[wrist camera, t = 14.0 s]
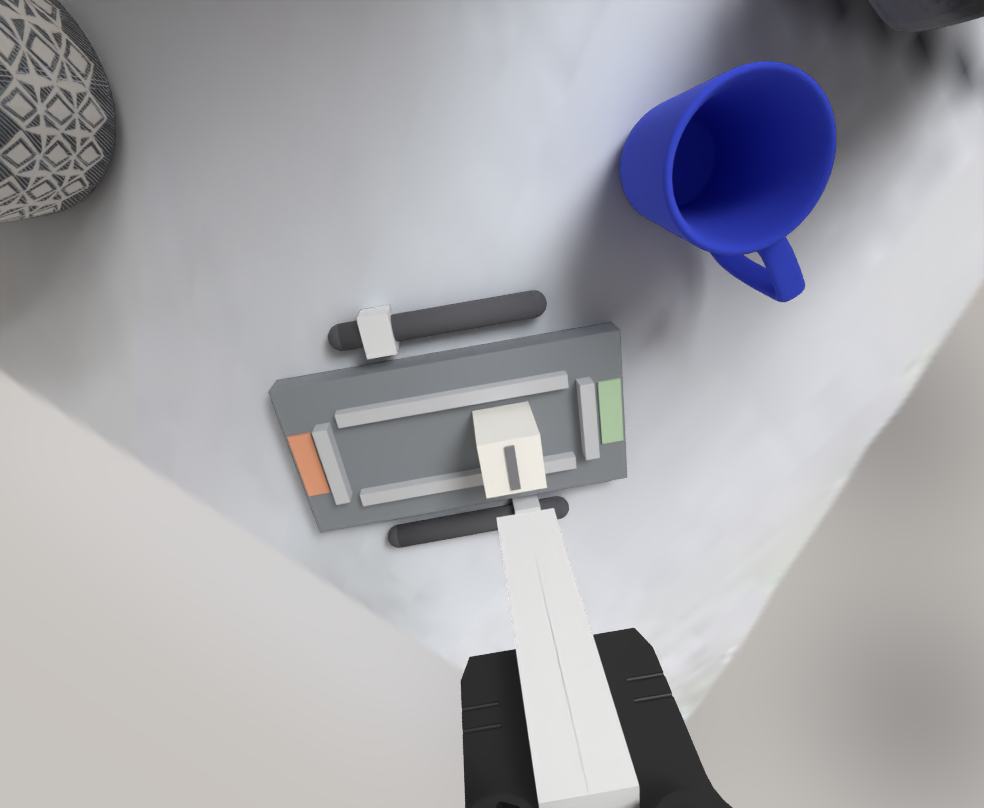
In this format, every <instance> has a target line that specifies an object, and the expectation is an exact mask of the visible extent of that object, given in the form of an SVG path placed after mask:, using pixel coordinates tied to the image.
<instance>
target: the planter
mask: <svg viewBox="0 0 984 808" xmlns="http://www.w3.org/2000/svg"><path fill="white" fill-rule="evenodd" d="M115 133H116V122H115V111H114V104H113V99H112V95H111V91H110V87H109V84H108V81H107V78H106V75H105V73H104V70H103V68H102V65H101V63H100V61H99V59H98V57H97V55H96V53H95V51H94V49H93V47H92V46H91V44H90V42H89V41H88V39H87V37H86V36H85V34H84V33H83V31H82V30H81V29H80V27H79V26H78V24H77V23H76V22H75V20H74V19H73V18H72V17H71V15H70V14H69V13H68V12H67V10H66V9H65V8H64V7H63V6H62V5H61V4H60V3H59V2H58V1H57V0H0V222H5V221H12V220H19V219H26V218H32V217H39V216H45V215H50V214H54V213H58V212H60V211H63V210H66V209H68V208H70V207H72V206H74V205H75V204H77V203H79V202H80V201H82V200H83V199H84V198H86V197H87V196H88V195H89V194H90V193H91V192H92V191H93V190H94V189H95V188H96V186H97V185H98V184H99V182H100V181H101V180H102V178H103V176H104V174H105V173H106V171H107V168H108V166H109V164H110V161H111V157H112V154H113V149H114V144H115Z"/></svg>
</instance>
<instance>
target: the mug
mask: <svg viewBox="0 0 984 808" xmlns="http://www.w3.org/2000/svg"><path fill="white" fill-rule="evenodd" d="M835 152H836V125H835V119H834V115H833V111H832V108H831V105H830V103H829V100H828V98H827V96H826V95H825V93H824V91H823V90H822V88H821V87H820V86H819V85H818V84H817V82H816V81H815V80H814V79H812V78H811V77H810V76H809V75H808V74H806V73H805V72H803V71H802V70H800V69H798V68H796V67H794V66H791V65H789V64H785V63H780V62H773V61H762V62H754V63H749V64H745V65H742V66H739V67H736V68H734V69H731V70H729V71H727V72H725V73H723V74H721V75H719V76H717V77H715V78H713V79H711V80H709V81H707V82H704V83H702V84H700V85H698V86H696V87H694V88H692V89H690V90H688V91H686V92H684V93H682V94H680V95H678V96H675V97H673V98H671V99H669V100H667V101H665V102H663V103H661V104H659V105H658V106H656V107H655V108H653V109H652V110H650V111H649V112H648V113H646V114H645V115H644V116H643V117H642V118H641V119H640V121H639V122H638V123H637V124H636V125H635V127H634V128H633V130H632V131H631V133H630V135H629V136H628V138H627V140H626V143H625V145H624V148H623V152H622V156H621V162H620V177H621V183H622V187H623V190H624V193H625V195H626V197H627V199H628V200H629V202H630V204H631V205H632V206H633V207H634V209H635V210H636V211H637V212H639V213H640V214H641V215H642V216H644V217H646V218H647V219H649V220H651V221H652V222H654V223H656V224H658V225H659V226H661V227H663V228H665V229H667V230H668V231H670V232H672V233H674V234H675V235H677V236H679V237H681V238H683V239H684V240H686V241H688V242H690V243H691V244H693V245H695V246H697V247H699V248H701V249H703V250H705V251H708V252H710V253H711V254H712V256H713V257H714V258H715V260H716V261H717V262H718V263H719V264H720V265H721V266H722V267H723V268H724V269H725V270H726V271H728V272H729V273H730V274H732V275H733V276H734V277H736V278H737V279H739V280H741V281H742V282H744V283H745V284H747V285H749V286H750V287H752V288H754V289H756V290H758V291H759V292H761V293H763V294H765V295H767V296H769V297H771V298H772V299H774V300H777V301H779V302H787V301H789V300H791V299H793V298H795V297H796V296H798V295H799V294H801V293H802V291H803V290H804V288H805V282H804V279H803V276H802V273H801V269H800V267H799V264H798V262H797V259H796V257H795V254H794V252H793V250H792V248H791V246H790V244H789V242H788V240H787V239H786V237H785V236H787V235H788V234H789V233H790V232H792V231H793V230H794V229H795V228H796V227H797V226H798V225H799V224H800V223H801V222H802V221H803V220H804V219H805V218H806V217H807V216H808V214H809V213H810V212H811V210H812V209H813V208H814V206H815V205H816V203H817V202H818V200H819V198H820V197H821V195H822V193H823V191H824V189H825V186H826V184H827V182H828V180H829V177H830V174H831V171H832V167H833V163H834V158H835ZM756 251H757V252H758V253H759V255H760V256H761V258H762V260H763V262H764V264H765V266H766V268H765V267H763V266H761V265H759V264H757V263H755V262H753V261H752V260H750V259H748V258H747V257H745V256H744V255H743V254H749V253H753V252H756Z"/></svg>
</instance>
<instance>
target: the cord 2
mask: <svg viewBox="0 0 984 808" xmlns="http://www.w3.org/2000/svg"><path fill="white" fill-rule="evenodd" d="M512 500H513V504H511V505H506V506H500V507H494V508H489V509H483V510H478V511H472V512H467V513H461V514H455V515H450V516H444V517H439V518H433V519H428V520H422V521H416V522H411V523H405V524H400V525H396V526H394V527H392V528H391V530H390V531H389V534H388V539H389V542H390V543H391V545H393V546H394V547H398V548H400V547H406V546H412V545H417V544H423V543H428V542H434V541H439V540H445V539H451V538H456V537H462V536H467V535H473V534H478V533H484V532H489V531H495V530H498V525H497V519H496V518H497V517H503V516H509V515H515V514H521V513H527V512H533V511H539V510H545V509H551V508H554V510H555V514H556V517H557V519H561V518H563V517H565V516H566V515H567V513H568V511H569V505H568V503H567V501H566V500H565V499H564V498H562V497H559V496H556V497H550V498H545V499H539V500H538V497H537V494H533V495H527V496H521V497H516V498H512Z"/></svg>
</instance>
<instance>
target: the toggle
mask: <svg viewBox="0 0 984 808" xmlns="http://www.w3.org/2000/svg"><path fill="white" fill-rule="evenodd" d="M472 413H473V421H474V429H475V437H476V445H477V451H478V456H479V461H480V466H481V472H482V477H483V482H484V487H485V493H486V498H492V497H498V496H503V495H509V494H515V493H520V492H526V491H531V490H537V489H543V488H547V484H546V476H545V468H544V461H543V453H542V445H541V437H540V433H539V430H538V427H537V424H536V422H535V419H534V416H533V413H532V411H531V408H530V405H529V402H528V401H526V402H520V403H515V404H509V405H503V406H498V407H492V408H486V409H481V410H475V411H472Z"/></svg>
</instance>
